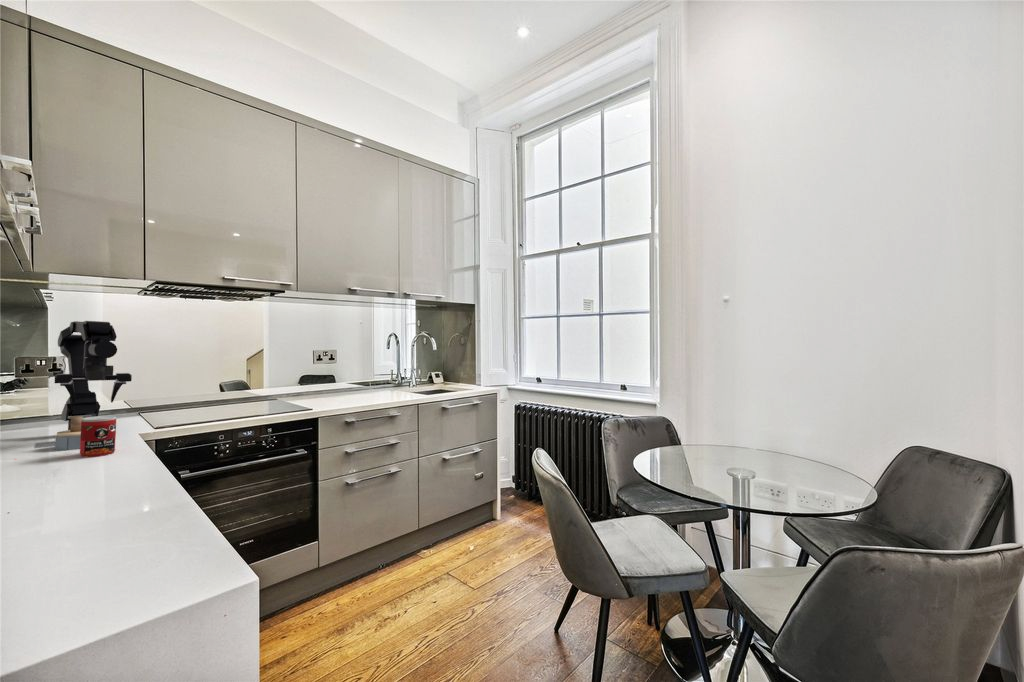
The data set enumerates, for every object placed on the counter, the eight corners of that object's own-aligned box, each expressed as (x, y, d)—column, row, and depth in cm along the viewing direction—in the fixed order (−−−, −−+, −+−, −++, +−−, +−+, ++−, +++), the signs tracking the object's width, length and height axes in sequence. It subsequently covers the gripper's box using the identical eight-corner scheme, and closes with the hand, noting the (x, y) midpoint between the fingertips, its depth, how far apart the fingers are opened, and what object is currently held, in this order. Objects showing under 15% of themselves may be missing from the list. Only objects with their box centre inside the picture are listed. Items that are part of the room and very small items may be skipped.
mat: (35, 444, 140) (36, 442, 140) (71, 441, 146) (71, 439, 146) (34, 449, 133) (34, 447, 133) (71, 446, 139) (71, 444, 139)
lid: (56, 434, 135) (57, 416, 136) (94, 431, 142) (95, 414, 142) (56, 438, 129) (57, 419, 130) (95, 434, 136) (96, 417, 136)
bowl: (55, 448, 135) (56, 434, 135) (95, 444, 142) (95, 430, 142) (54, 453, 129) (55, 438, 129) (96, 449, 136) (96, 434, 136)
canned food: (82, 458, 123) (84, 420, 124) (77, 454, 128) (78, 417, 129) (117, 454, 130) (119, 417, 130) (111, 450, 134) (113, 414, 135)
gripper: (55, 358, 135) (52, 407, 135) (134, 358, 148) (131, 403, 148) (56, 357, 143) (53, 404, 142) (130, 357, 156) (129, 400, 156)
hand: (93, 403), depth 147 cm, fingers open, 9 cm apart
